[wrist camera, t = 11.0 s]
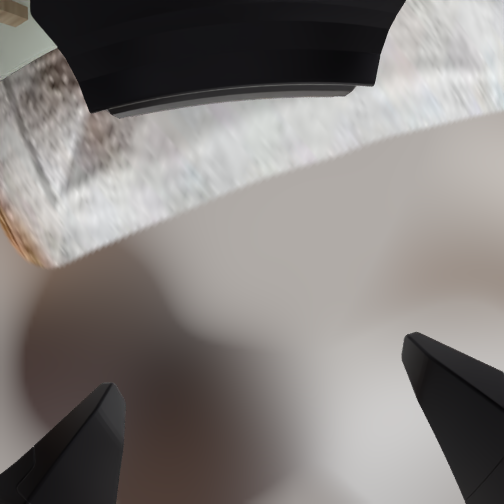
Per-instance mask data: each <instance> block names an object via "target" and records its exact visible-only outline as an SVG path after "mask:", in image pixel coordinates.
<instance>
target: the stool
mask: <svg viewBox="0 0 504 504" xmlns="http://www.w3.org/2000/svg"><path fill="white" fill-rule="evenodd" d="M27 20H28V7H26V6H24V5H21V4H19V3H17V2H14V1H12V0H0V23H3V24H6V25H10V26H13V27H17V26H19V25H20V24H22V23H23V22H25V21H27Z"/></svg>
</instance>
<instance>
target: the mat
mask: <svg viewBox="0 0 504 504" xmlns="http://www.w3.org/2000/svg"><path fill="white" fill-rule="evenodd" d="M12 1H14V2H17V3H19V4H21V5H24V6H26V7H28V20H27V21H25V22H23V23H22V24H20V25H19V26H17V27H13V26H10V25H6V24H3V23H0V81H1V80H3V79H4V78H6V77H7V76H9V75H10V74H12V73H13V72H15V71H17V70H18V69H20V68H22V67H23V66H25V65H27V64H28V63H30V62H32V61H33V60H35V59H37V58H39V57H41V56H42V55H44V54H46V53H48V52H50V51H52V50H54V49H56V48H58V47H57V46H56V45H55V43H54V42H53V41H52V40H51V39H50V38H49V36H48V35H47V34H46V33H45V32H44V30H43V29H42V28H41V27H40V26H39V25H38V23H37V22H36V21H35V20H34V19H33V17H32V16H31V13H30V0H12Z"/></svg>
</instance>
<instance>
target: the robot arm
mask: <svg viewBox="0 0 504 504" xmlns="http://www.w3.org/2000/svg"><path fill="white" fill-rule="evenodd" d="M405 1H406V0H30V13H31V16H32V17H33V19H34V20H35V21H36V22H37V23H38V25H39V26H40V27H41V28H42V29H43V30H44V32H45V33H46V34H47V35H48V36H49V38H50V39H51V40H52V41H53V42H54V43H55V45H56V46H57V47H58V49H59V50H60V51H61V53H62V54H63V55H64V57H65V58H66V60H67V62H68V64H69V66H70V67H71V69H72V71H73V73H74V75H75V77H76V79H77V81H78V83H79V85H80V88H81V91H82V94H83V96H84V99H85V102H86V104H87V107H88V109H89V112H90V113H96V112H100V111H104V110H106V111H107V112H109V113H110V114H111V115H113V116H115V117H117V118H119V119H120V118H124V117H129V116H130V117H133V116H138V115H143V114H148V113H153V112H159V111H165V110H171V109H177V108H183V107H190V106H197V105H205V104H213V103H222V102H232V101H243V100H255V99H271V98H294V97H334V96H346V95H347V94H349V93H350V92H352V91H353V89H354V88H355V87H356V86H371V87H372V86H374V84H375V80H376V75H377V70H378V65H379V60H380V54H381V51H382V48H383V46H384V43H385V40H386V37H387V34H388V31H389V29H390V27H391V25H392V23H393V21H394V19H395V17H396V15H397V14H398V12H399V11H400V9H401V7H402V6H403V4H404V3H405ZM402 362H403V364H404V366H405V369H406V372H407V374H408V377H409V380H410V382H411V385H412V387H413V390H414V393H415V395H416V398H417V400H418V402H419V404H420V406H421V408H422V410H423V412H424V414H425V416H426V418H427V420H428V422H429V424H430V426H431V428H432V430H433V432H434V434H435V436H436V438H437V440H438V442H439V444H440V446H441V449H442V451H443V453H444V455H445V457H446V459H447V462H448V464H449V466H450V468H451V470H452V473H453V475H454V477H455V479H456V482H457V484H458V486H459V488H460V491H461V493H462V495H463V498H464V500H465V503H466V504H504V373H503V372H502V371H500V370H498V369H496V368H494V367H492V366H489V365H487V364H485V363H483V362H481V361H479V360H476V359H474V358H472V357H470V356H468V355H466V354H464V353H461V352H459V351H457V350H455V349H453V348H451V347H449V346H447V345H445V344H442V343H440V342H438V341H436V340H434V339H432V338H430V337H427V336H425V335H423V334H421V333H419V332H414V333H411V334H407V335H406V336H405V338H404V343H403V350H402ZM125 411H126V404H125V400H124V398H123V396H122V395H121V393H120V391H119V390H118V388H117V386H116V385H115V384H114V383H102V384H100V385H99V386H98V387H97V388H96V389H95V390H94V391H93V392H92V393H90V394H89V395H88V396H87V397H86V398H85V399H84V400H83V401H82V402H81V403H80V404H79V405H77V407H75V408H74V409H73V410H72V411H71V412H70V413H69V414H68V415H67V416H66V417H64V418H63V419H62V420H61V421H60V422H59V423H58V424H57V425H56V426H55V427H54V428H53V429H52V430H50V431H49V432H48V433H47V434H46V435H45V436H44V437H43V438H42V439H41V440H40V441H39V442H37V443H36V444H35V445H34V447H32V448H31V449H30V450H29V451H28V452H27V453H26V454H24V456H22V457H21V458H20V459H19V460H18V461H17V462H15V463H14V464H13V465H12V466H10V467H9V468H8V469H7V470H5V471H4V472H3V473H1V474H0V504H116V499H117V491H118V482H119V475H120V468H121V461H122V453H123V445H124V427H125Z"/></svg>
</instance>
